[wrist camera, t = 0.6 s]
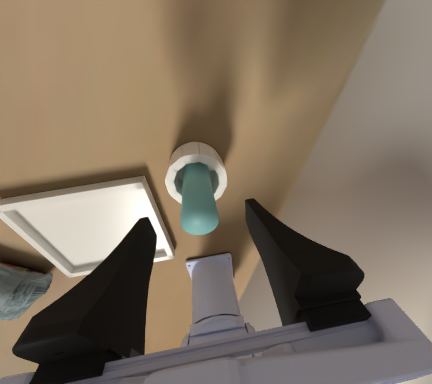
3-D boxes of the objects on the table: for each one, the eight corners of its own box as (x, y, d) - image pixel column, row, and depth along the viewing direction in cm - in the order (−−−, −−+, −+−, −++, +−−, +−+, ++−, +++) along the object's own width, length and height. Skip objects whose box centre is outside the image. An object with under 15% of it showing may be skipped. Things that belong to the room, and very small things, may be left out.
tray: (174, 250, 28) (174, 258, 27) (74, 268, 27) (69, 277, 26) (144, 175, 20) (141, 182, 19) (0, 198, 19) (-13, 207, 18)
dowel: (209, 177, 20) (220, 231, 13) (186, 181, 20) (185, 237, 13) (206, 155, 19) (216, 203, 12) (181, 160, 19) (176, 210, 12)
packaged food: (-35, 284, 26) (-75, 322, 22) (-9, 243, 23) (-51, 280, 19) (34, 297, 31) (11, 332, 27) (64, 265, 27) (43, 299, 23)
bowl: (223, 184, 22) (228, 201, 19) (176, 192, 22) (174, 210, 19) (218, 137, 18) (224, 149, 15) (162, 146, 18) (157, 160, 15)
